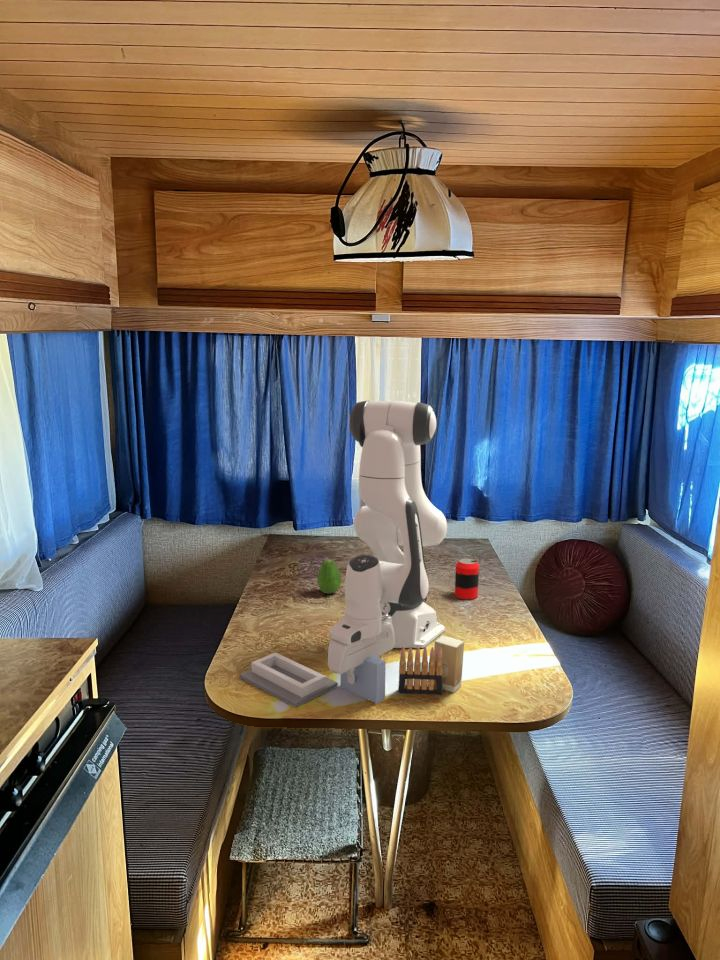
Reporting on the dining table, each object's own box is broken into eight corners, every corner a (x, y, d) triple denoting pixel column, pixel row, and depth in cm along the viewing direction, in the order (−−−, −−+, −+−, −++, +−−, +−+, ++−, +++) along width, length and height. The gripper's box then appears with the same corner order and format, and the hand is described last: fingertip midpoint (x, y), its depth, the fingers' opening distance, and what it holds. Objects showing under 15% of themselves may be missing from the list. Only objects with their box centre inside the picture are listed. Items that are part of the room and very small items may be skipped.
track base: (281, 659, 193) (281, 647, 193) (337, 686, 179) (337, 673, 179) (239, 677, 183) (239, 665, 183) (295, 707, 169) (295, 694, 169)
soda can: (479, 600, 236) (481, 565, 234) (456, 600, 236) (457, 565, 234) (475, 591, 244) (477, 557, 241) (453, 591, 243) (454, 557, 241)
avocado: (314, 596, 238) (313, 561, 236) (322, 587, 246) (322, 554, 243) (337, 598, 236) (337, 563, 234) (344, 590, 244) (344, 556, 241)
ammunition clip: (441, 691, 177) (443, 645, 175) (442, 695, 176) (443, 649, 173) (398, 689, 178) (399, 644, 176) (398, 693, 176) (399, 647, 174)
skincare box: (431, 686, 180) (433, 640, 177) (439, 679, 183) (441, 634, 181) (454, 693, 176) (456, 647, 174) (462, 686, 180) (464, 640, 177)
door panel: (348, 682, 181) (349, 645, 179) (384, 699, 173) (385, 660, 171) (340, 686, 179) (340, 649, 177) (376, 704, 171) (377, 665, 169)
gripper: (381, 608, 182) (381, 659, 185) (323, 632, 167) (323, 687, 170) (401, 615, 178) (400, 667, 181) (343, 640, 163) (342, 696, 166)
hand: (362, 677), depth 176 cm, fingers open, 6 cm apart
